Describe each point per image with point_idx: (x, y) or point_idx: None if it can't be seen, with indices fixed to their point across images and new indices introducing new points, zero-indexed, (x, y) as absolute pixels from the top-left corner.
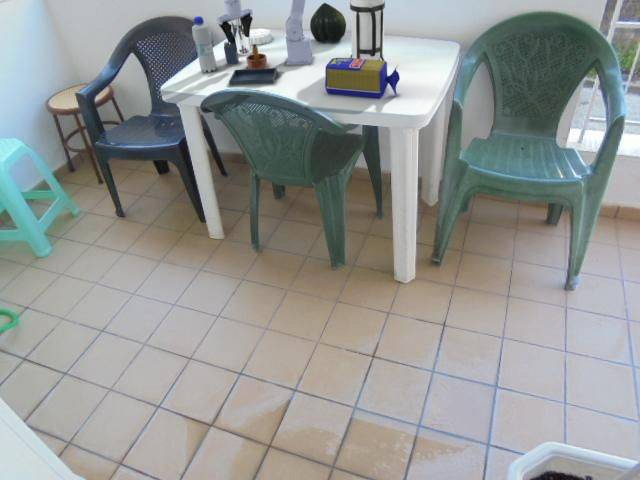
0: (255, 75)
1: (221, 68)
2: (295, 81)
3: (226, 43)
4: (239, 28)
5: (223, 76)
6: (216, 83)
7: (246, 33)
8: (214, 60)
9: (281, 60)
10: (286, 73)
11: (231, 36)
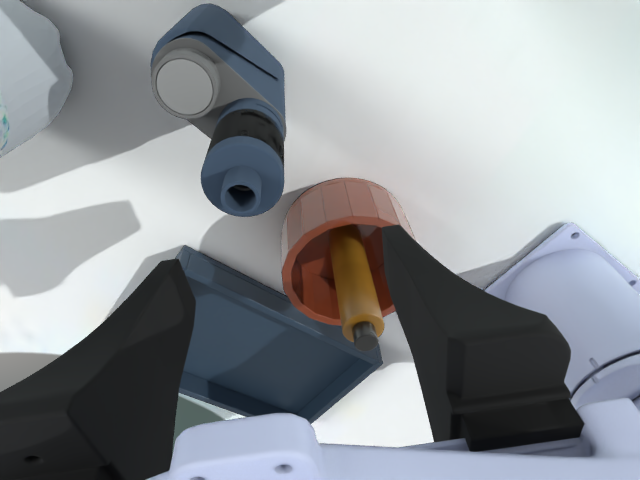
0: (271, 326)
1: (121, 71)
2: (380, 426)
3: (175, 114)
4: None
5: (104, 216)
6: (43, 277)
7: (391, 285)
8: (33, 133)
9: (515, 220)
10: (407, 361)
11: (178, 362)
